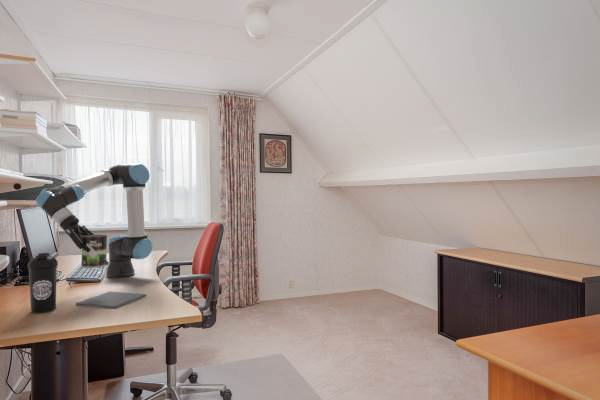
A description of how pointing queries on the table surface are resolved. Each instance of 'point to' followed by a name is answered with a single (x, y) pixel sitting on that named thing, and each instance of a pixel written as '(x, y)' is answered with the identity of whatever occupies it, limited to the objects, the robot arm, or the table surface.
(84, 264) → the coffee can
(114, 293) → the rubber mat
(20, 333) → the table surface
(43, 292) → the water bottle
